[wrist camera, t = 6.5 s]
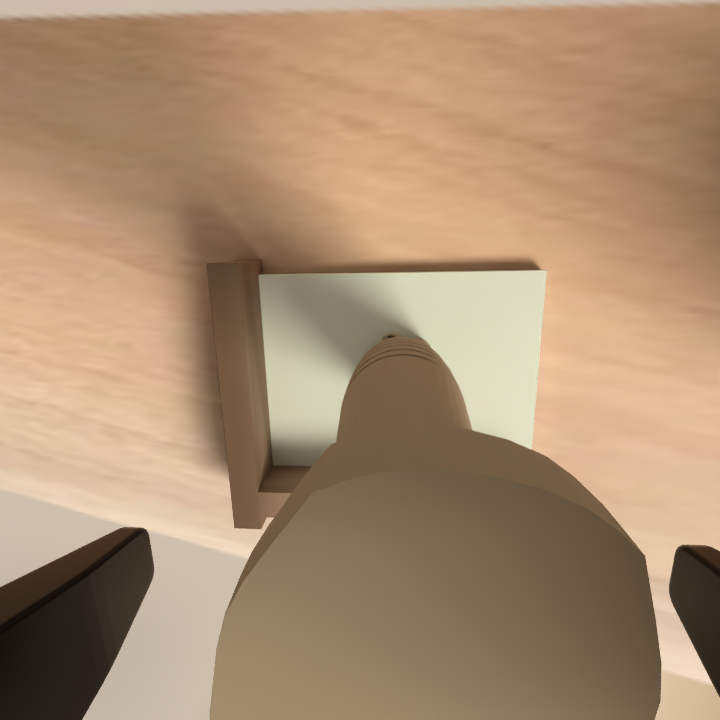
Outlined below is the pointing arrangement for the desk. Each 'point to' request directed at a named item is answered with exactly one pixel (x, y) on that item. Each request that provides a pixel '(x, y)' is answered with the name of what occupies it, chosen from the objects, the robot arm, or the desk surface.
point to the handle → (436, 576)
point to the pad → (408, 319)
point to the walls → (246, 395)
